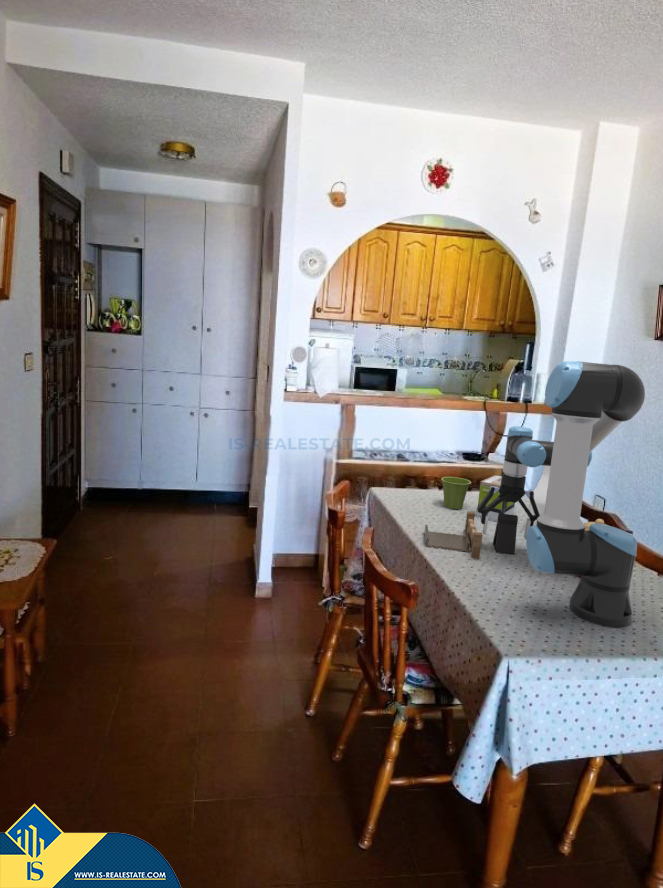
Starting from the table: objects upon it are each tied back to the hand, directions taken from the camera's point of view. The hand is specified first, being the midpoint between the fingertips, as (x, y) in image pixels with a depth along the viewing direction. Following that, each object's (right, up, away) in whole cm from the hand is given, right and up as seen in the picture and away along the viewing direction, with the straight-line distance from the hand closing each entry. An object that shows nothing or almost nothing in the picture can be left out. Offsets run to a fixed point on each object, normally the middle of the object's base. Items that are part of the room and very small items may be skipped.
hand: (504, 535), depth 204 cm
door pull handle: (-11, -3, +2) cm, 11 cm away
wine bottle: (+19, -2, +22) cm, 29 cm away
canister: (+22, -10, -15) cm, 28 cm away
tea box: (+7, +2, +37) cm, 38 cm away
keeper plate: (-19, -2, +3) cm, 20 cm away
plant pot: (-8, +5, +45) cm, 46 cm away
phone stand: (0, -5, +1) cm, 5 cm away
